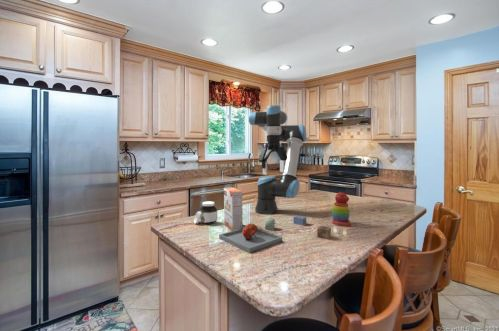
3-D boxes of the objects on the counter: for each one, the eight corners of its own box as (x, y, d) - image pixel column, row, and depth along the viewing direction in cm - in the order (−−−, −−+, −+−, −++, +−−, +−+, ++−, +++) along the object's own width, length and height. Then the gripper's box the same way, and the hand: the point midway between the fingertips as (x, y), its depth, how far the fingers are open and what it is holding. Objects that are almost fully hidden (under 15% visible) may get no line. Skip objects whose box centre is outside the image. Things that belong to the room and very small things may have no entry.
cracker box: (223, 224, 147) (223, 187, 145) (233, 223, 149) (233, 186, 147) (231, 232, 134) (231, 191, 132) (242, 230, 136) (242, 190, 134)
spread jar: (219, 223, 150) (219, 202, 149) (203, 227, 141) (203, 206, 140) (206, 218, 158) (206, 199, 157) (190, 223, 150) (190, 202, 149)
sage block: (263, 228, 140) (263, 219, 140) (269, 226, 143) (269, 217, 143) (269, 230, 136) (269, 221, 136) (276, 228, 140) (276, 219, 139)
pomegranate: (258, 240, 126) (243, 226, 129) (266, 231, 123) (251, 216, 126) (250, 247, 120) (235, 232, 123) (258, 237, 117) (242, 221, 120)
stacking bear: (352, 227, 143) (353, 194, 141) (332, 225, 145) (333, 193, 143) (348, 221, 153) (349, 191, 152) (330, 220, 155) (331, 190, 154)
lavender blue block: (293, 223, 149) (293, 216, 149) (296, 222, 152) (297, 215, 152) (302, 225, 145) (303, 218, 145) (306, 224, 148) (306, 217, 148)
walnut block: (317, 237, 127) (317, 228, 126) (320, 234, 131) (320, 225, 130) (327, 239, 124) (327, 230, 124) (330, 236, 128) (330, 227, 128)
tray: (219, 238, 125) (219, 234, 125) (250, 229, 138) (250, 226, 138) (249, 253, 108) (249, 248, 108) (282, 241, 121) (282, 237, 121)
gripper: (261, 134, 132) (261, 176, 135) (293, 134, 148) (293, 171, 151) (251, 134, 138) (252, 174, 140) (283, 134, 154) (283, 170, 156)
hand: (273, 173), depth 146 cm, fingers open, 13 cm apart
